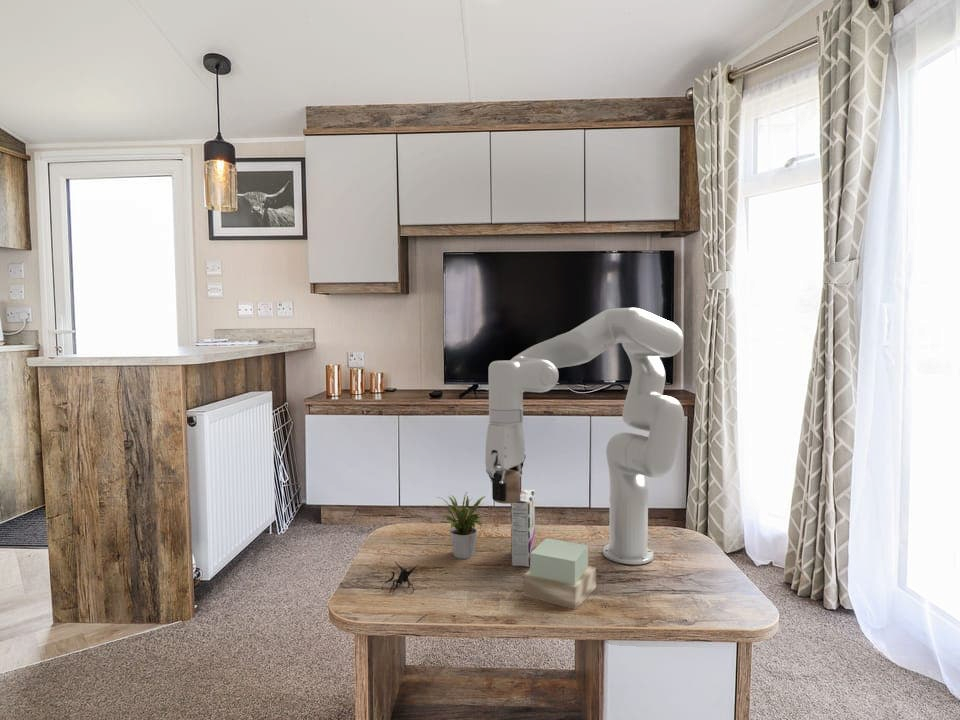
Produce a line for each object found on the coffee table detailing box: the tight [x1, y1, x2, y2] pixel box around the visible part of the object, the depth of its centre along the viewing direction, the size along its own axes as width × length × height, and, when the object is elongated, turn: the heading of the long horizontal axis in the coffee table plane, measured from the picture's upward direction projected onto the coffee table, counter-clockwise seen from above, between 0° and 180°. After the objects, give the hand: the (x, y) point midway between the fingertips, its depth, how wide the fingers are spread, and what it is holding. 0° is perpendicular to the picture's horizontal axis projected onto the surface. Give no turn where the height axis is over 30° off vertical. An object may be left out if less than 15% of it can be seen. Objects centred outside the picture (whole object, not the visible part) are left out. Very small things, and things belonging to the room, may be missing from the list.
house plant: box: [437, 491, 486, 559], centre depth 148 cm, size 14×14×16 cm
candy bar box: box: [510, 488, 536, 568], centre depth 146 cm, size 11×5×16 cm, turn 168°
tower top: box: [529, 537, 589, 585], centre depth 127 cm, size 10×10×5 cm
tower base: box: [523, 565, 597, 610], centre depth 128 cm, size 12×12×5 cm
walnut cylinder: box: [493, 469, 520, 505], centre depth 128 cm, size 6×6×6 cm
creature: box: [381, 561, 420, 595], centre depth 129 cm, size 8×5×8 cm
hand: (507, 495), depth 128 cm, fingers closed on walnut cylinder, 6 cm apart
